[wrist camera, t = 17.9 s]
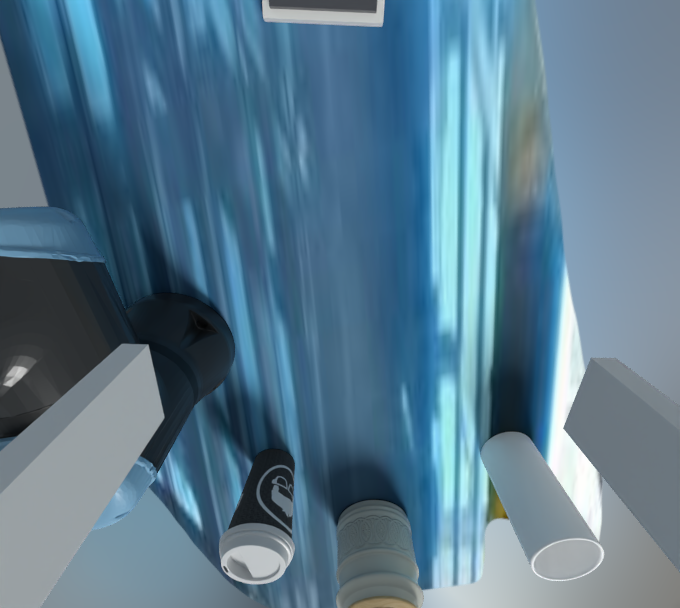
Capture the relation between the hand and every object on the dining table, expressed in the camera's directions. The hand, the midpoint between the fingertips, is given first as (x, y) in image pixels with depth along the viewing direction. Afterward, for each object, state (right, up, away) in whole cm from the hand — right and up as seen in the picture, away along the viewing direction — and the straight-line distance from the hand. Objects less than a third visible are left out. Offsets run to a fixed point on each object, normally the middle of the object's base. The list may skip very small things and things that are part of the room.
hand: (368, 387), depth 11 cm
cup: (+26, -21, +44) cm, 55 cm away
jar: (+5, -37, +51) cm, 63 cm away
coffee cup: (-11, -23, +45) cm, 52 cm away
